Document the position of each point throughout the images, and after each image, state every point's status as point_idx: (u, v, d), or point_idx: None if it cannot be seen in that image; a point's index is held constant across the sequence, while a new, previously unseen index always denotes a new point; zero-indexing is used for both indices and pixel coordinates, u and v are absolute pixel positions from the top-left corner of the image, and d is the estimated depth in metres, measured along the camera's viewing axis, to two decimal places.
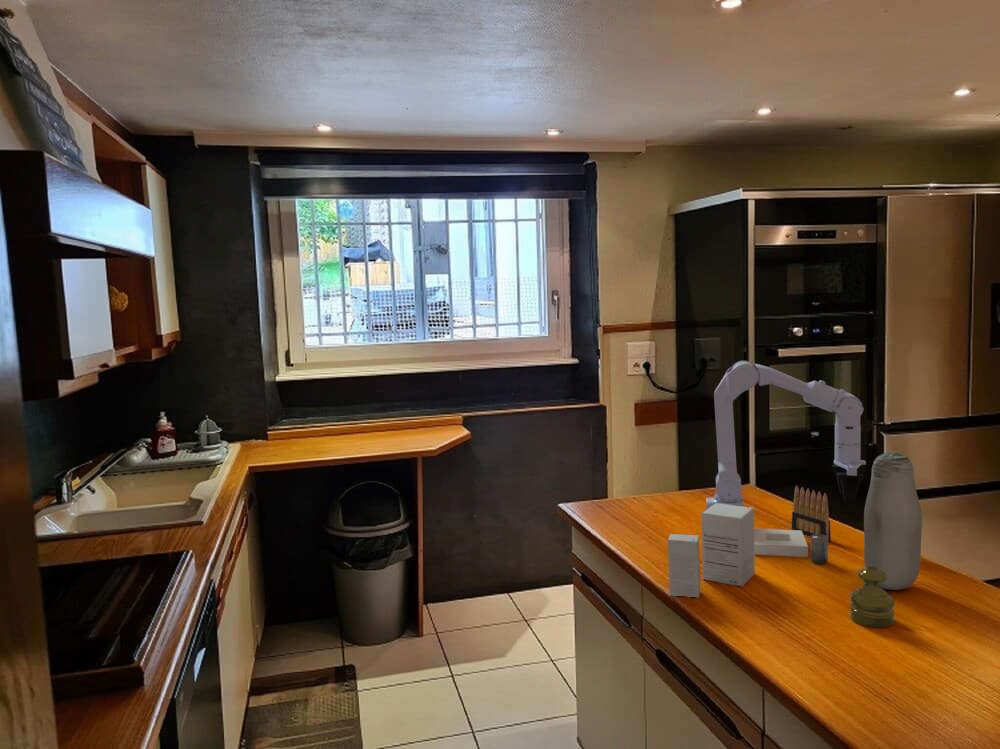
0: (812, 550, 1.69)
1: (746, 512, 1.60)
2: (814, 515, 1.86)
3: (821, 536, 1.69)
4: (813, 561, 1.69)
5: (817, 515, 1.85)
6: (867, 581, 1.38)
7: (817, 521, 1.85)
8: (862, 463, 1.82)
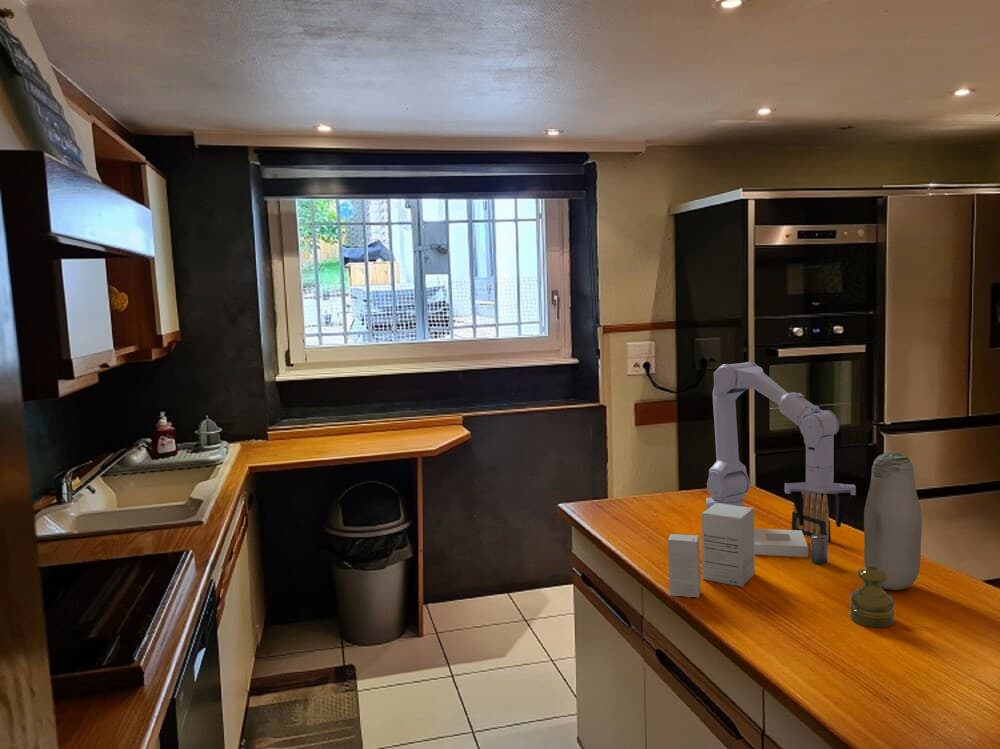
0: (812, 550, 1.69)
1: (746, 512, 1.60)
2: (814, 515, 1.86)
3: (821, 536, 1.69)
4: (813, 561, 1.69)
5: (817, 515, 1.85)
6: (867, 581, 1.38)
7: (817, 521, 1.85)
8: (816, 489, 1.65)
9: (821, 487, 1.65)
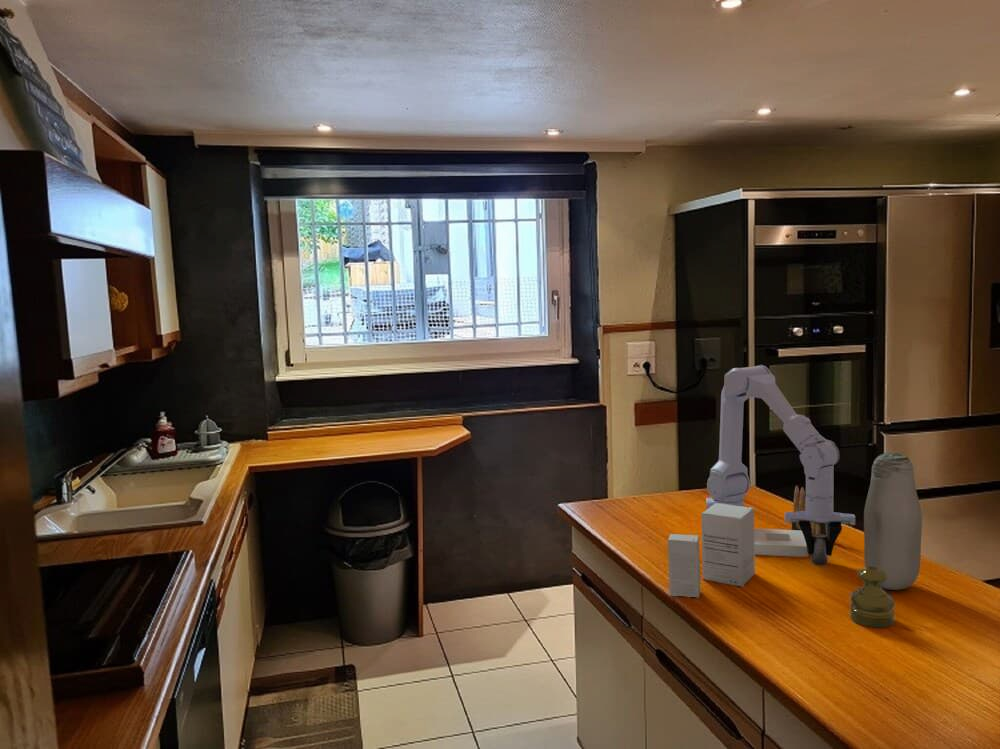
0: (812, 550, 1.69)
1: (746, 512, 1.60)
2: None
3: (821, 536, 1.69)
4: (813, 561, 1.69)
5: None
6: (867, 581, 1.38)
7: None
8: (816, 519, 1.66)
9: (821, 517, 1.66)
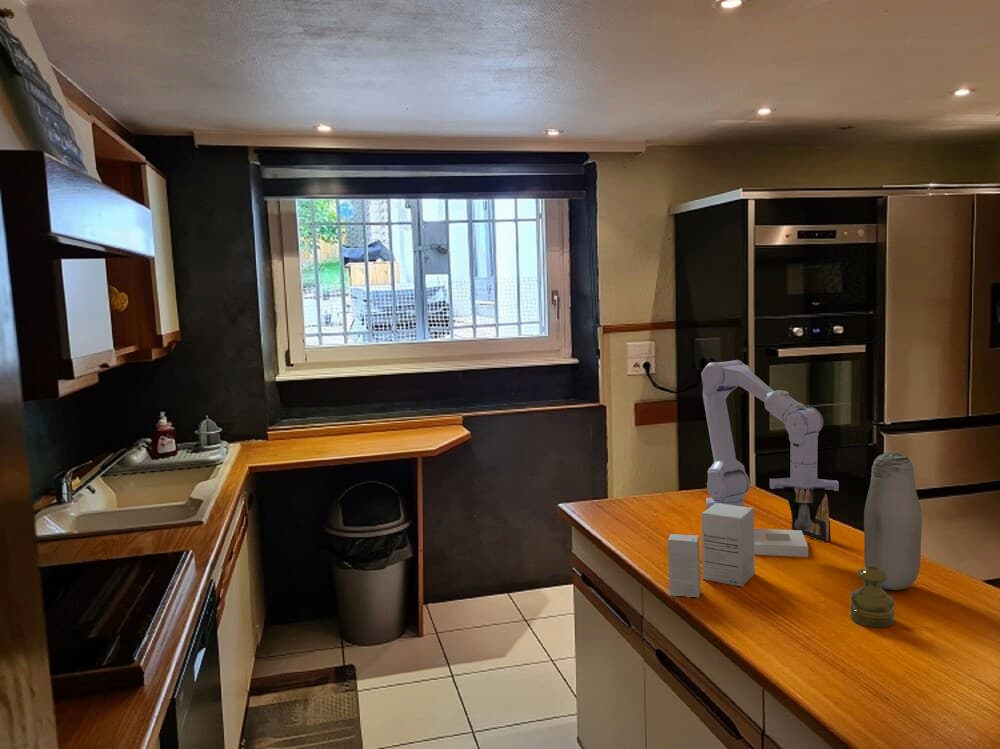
0: (796, 516, 1.73)
1: (746, 512, 1.60)
2: None
3: (805, 502, 1.72)
4: (797, 526, 1.72)
5: (817, 515, 1.85)
6: (867, 581, 1.38)
7: (817, 521, 1.85)
8: (800, 485, 1.69)
9: (805, 483, 1.69)
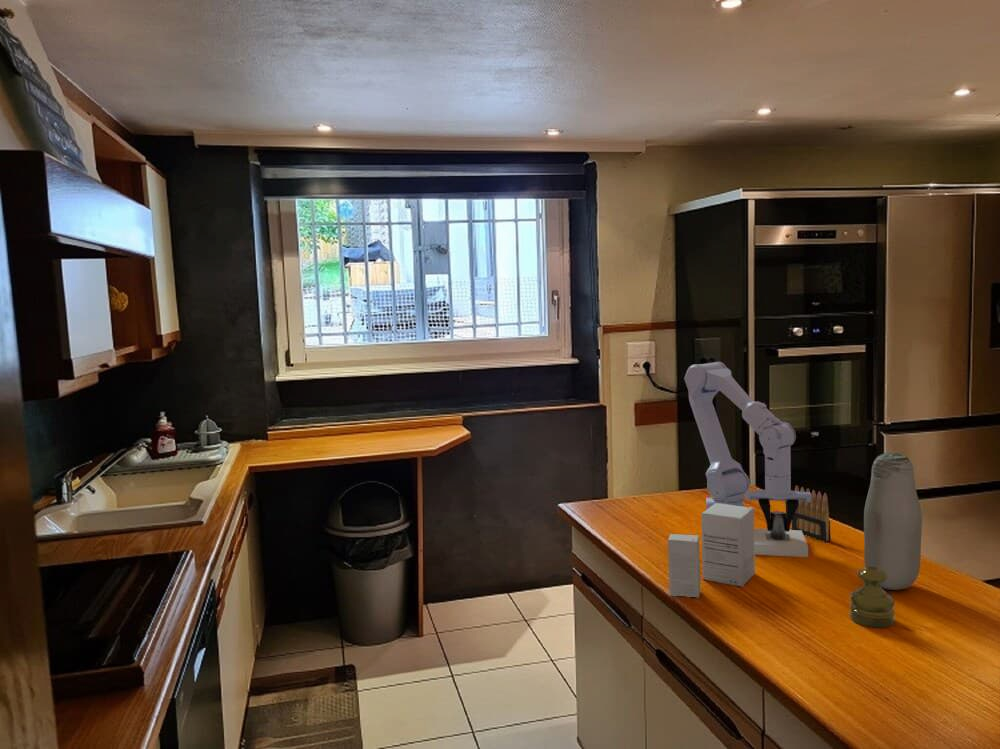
0: (771, 526, 1.80)
1: (746, 512, 1.60)
2: (814, 515, 1.86)
3: (779, 513, 1.79)
4: (772, 536, 1.80)
5: (817, 515, 1.85)
6: (867, 581, 1.38)
7: (817, 521, 1.85)
8: (774, 497, 1.77)
9: (778, 495, 1.76)
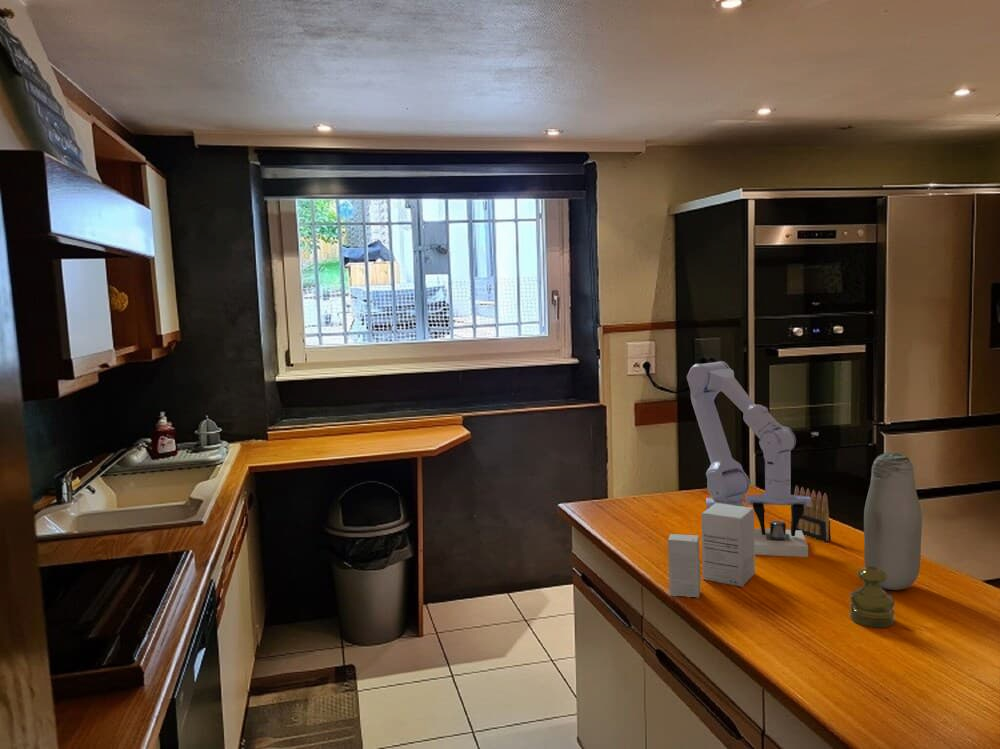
0: (771, 536, 1.80)
1: (746, 512, 1.60)
2: (814, 515, 1.86)
3: (779, 523, 1.80)
4: None
5: (817, 515, 1.85)
6: (867, 581, 1.38)
7: (817, 521, 1.85)
8: (774, 501, 1.77)
9: (778, 499, 1.77)
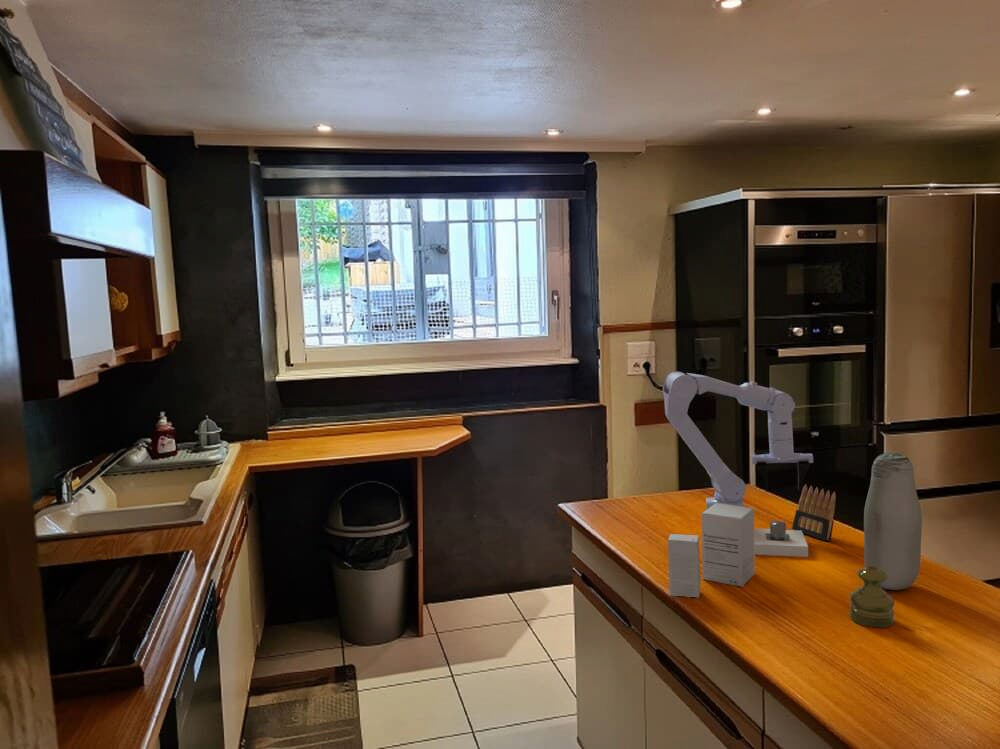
0: (771, 536, 1.80)
1: (746, 512, 1.60)
2: (819, 513, 1.86)
3: (779, 523, 1.80)
4: None
5: (822, 513, 1.85)
6: (866, 581, 1.38)
7: (821, 519, 1.85)
8: (778, 459, 1.88)
9: (782, 457, 1.88)
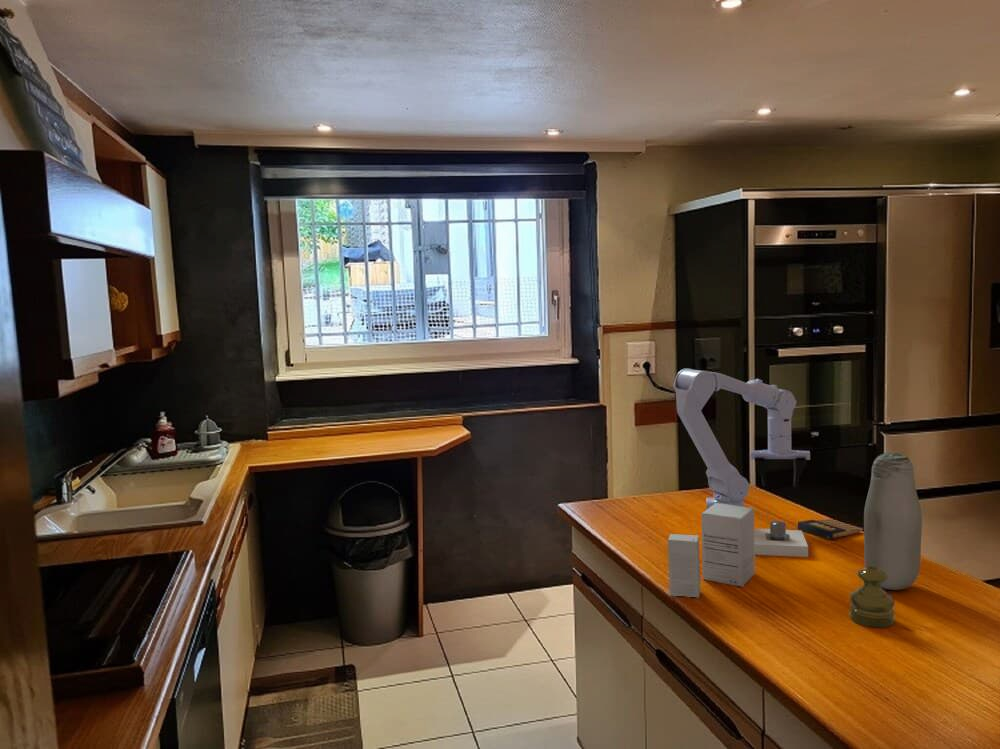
0: (771, 536, 1.80)
1: (746, 512, 1.60)
2: None
3: (779, 523, 1.80)
4: None
5: (840, 527, 1.88)
6: (866, 581, 1.38)
7: (837, 527, 1.88)
8: (776, 455, 1.93)
9: (781, 453, 1.93)
